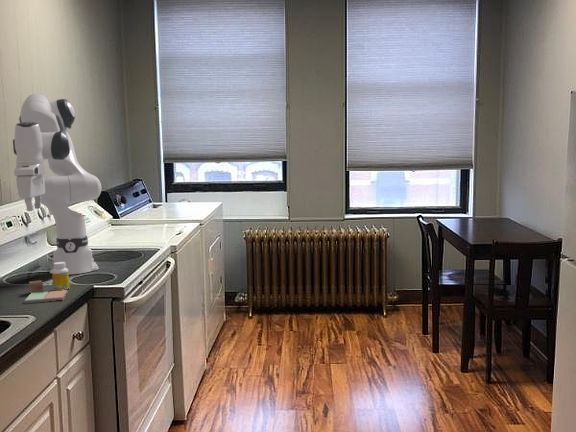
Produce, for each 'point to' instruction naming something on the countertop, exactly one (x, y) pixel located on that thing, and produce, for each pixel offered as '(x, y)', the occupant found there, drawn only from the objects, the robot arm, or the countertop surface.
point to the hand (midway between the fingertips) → (34, 209)
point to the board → (46, 296)
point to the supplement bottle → (60, 276)
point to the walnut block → (36, 286)
